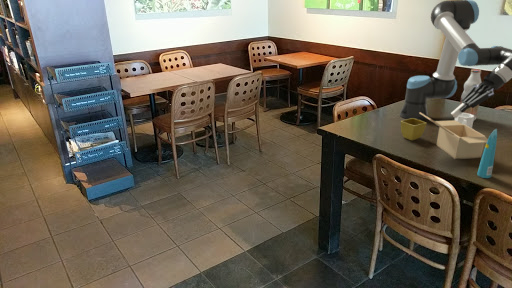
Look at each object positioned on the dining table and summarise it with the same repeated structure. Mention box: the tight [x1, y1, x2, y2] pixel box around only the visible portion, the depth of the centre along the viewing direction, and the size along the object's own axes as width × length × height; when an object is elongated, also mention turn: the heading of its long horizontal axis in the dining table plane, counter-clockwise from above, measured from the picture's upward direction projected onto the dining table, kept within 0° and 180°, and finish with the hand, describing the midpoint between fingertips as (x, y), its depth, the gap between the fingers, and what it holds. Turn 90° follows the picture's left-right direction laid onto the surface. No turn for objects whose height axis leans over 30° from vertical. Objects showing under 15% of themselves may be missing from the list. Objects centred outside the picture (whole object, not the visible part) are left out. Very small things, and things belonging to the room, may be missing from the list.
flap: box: [420, 112, 454, 135], centre depth 168 cm, size 10×1×14 cm
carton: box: [434, 119, 489, 160], centre depth 172 cm, size 28×12×10 cm, turn 4°
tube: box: [476, 128, 498, 179], centre depth 148 cm, size 7×5×19 cm, turn 140°
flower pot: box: [400, 118, 427, 141], centre depth 188 cm, size 9×9×9 cm
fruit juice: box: [459, 68, 483, 121], centre depth 211 cm, size 9×9×28 cm
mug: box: [454, 113, 475, 129], centre depth 192 cm, size 12×9×10 cm
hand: (453, 115), depth 167 cm, fingers closed
